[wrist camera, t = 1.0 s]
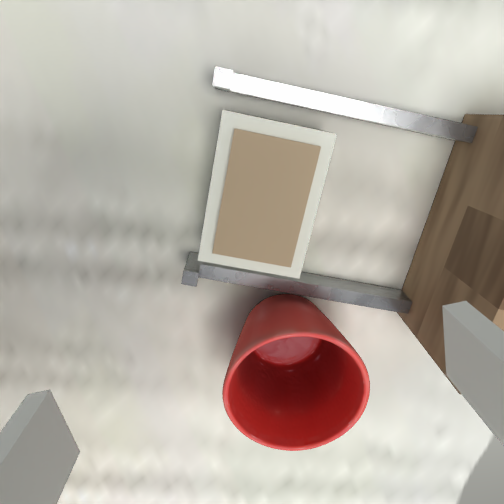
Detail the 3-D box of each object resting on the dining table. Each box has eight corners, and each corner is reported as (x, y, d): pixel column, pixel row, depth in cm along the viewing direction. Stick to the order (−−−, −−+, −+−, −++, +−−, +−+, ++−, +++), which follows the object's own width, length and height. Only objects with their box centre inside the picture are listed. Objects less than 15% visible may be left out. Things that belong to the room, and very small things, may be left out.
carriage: (203, 240, 35) (196, 263, 29) (225, 110, 31) (221, 109, 26) (291, 256, 35) (300, 281, 30) (323, 130, 32) (339, 134, 26)
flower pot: (227, 276, 36) (222, 332, 27) (345, 279, 37) (380, 335, 27) (226, 373, 40) (221, 451, 31) (334, 374, 40) (361, 452, 31)
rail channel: (188, 264, 36) (181, 284, 32) (219, 72, 30) (215, 66, 26) (397, 301, 37) (416, 324, 33) (460, 125, 32) (492, 128, 28)
